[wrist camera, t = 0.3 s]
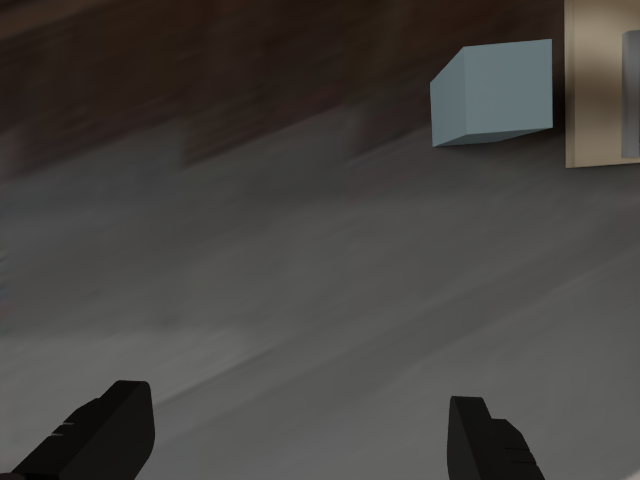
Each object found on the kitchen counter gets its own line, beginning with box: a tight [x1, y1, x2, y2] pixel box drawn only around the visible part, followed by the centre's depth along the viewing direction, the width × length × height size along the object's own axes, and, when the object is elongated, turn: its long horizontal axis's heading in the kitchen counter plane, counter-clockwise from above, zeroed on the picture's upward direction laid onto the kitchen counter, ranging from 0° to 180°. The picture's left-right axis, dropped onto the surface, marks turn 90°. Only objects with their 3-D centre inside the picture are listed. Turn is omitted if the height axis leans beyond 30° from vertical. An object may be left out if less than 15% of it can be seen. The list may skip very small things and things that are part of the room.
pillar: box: [430, 39, 553, 147], centre depth 32 cm, size 5×5×10 cm
